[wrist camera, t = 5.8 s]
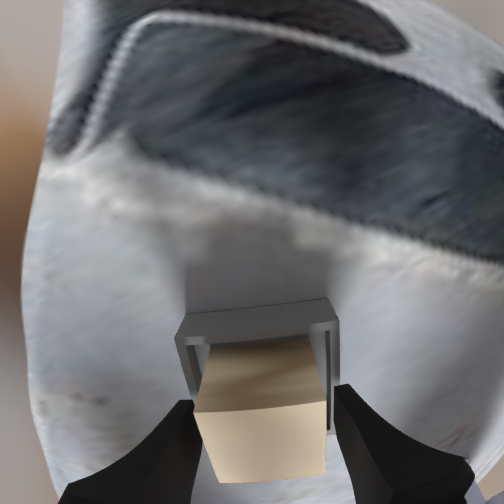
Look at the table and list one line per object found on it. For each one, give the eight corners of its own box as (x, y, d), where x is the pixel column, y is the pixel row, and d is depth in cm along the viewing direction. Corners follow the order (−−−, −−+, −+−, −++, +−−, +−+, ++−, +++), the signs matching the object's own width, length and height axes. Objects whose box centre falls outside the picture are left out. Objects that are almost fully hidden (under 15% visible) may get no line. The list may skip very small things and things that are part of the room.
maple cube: (308, 337, 14) (326, 400, 10) (312, 409, 15) (325, 473, 11) (210, 348, 14) (193, 412, 10) (227, 417, 15) (219, 482, 11)
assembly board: (327, 297, 15) (339, 320, 12) (330, 405, 16) (337, 433, 14) (185, 314, 15) (174, 337, 13) (212, 416, 17) (207, 445, 14)
